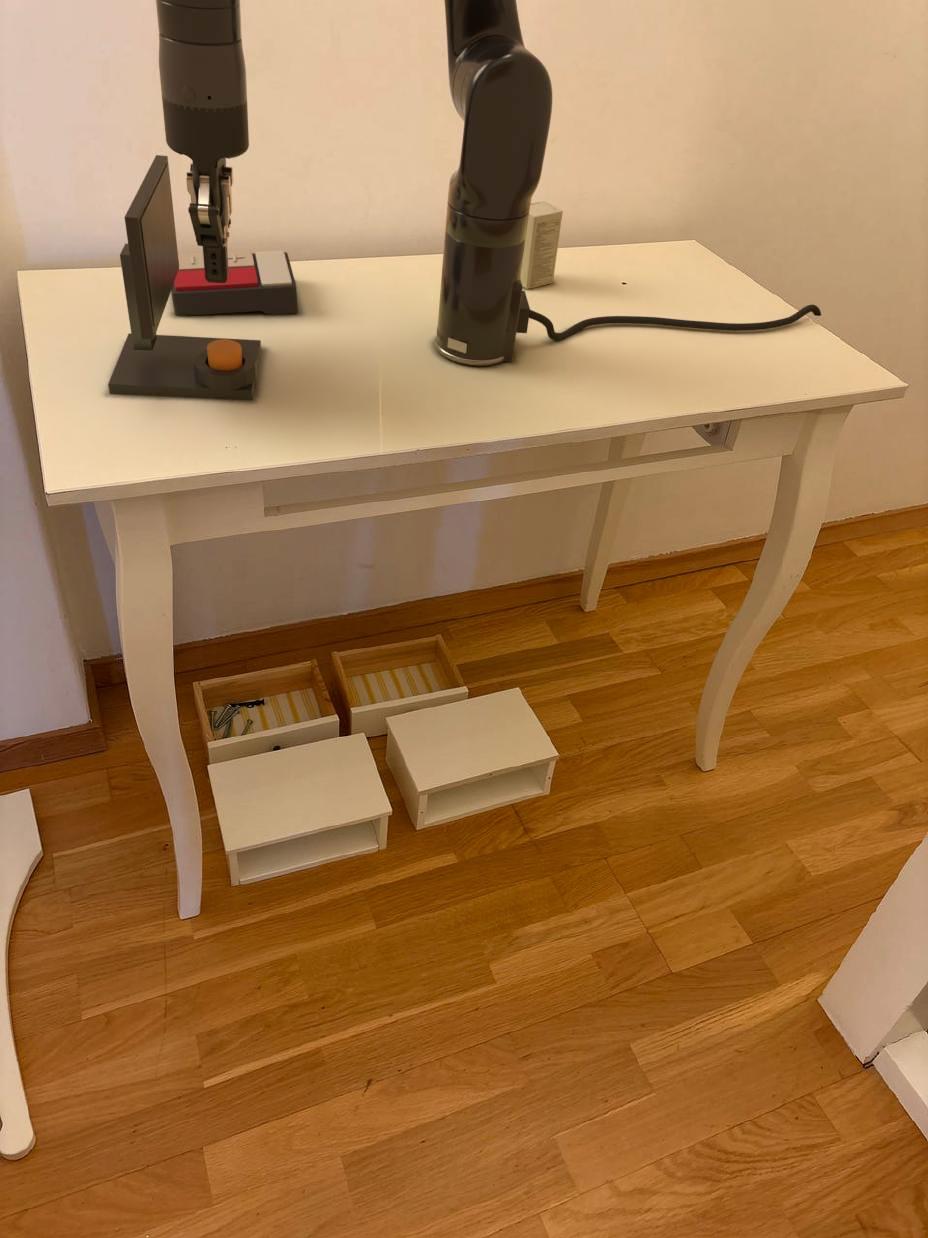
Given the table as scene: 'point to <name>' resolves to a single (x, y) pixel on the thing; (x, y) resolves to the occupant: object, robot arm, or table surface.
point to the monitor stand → (133, 303)
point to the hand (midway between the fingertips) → (217, 279)
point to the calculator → (236, 285)
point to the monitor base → (183, 370)
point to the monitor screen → (152, 245)
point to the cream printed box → (540, 245)
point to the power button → (224, 354)
